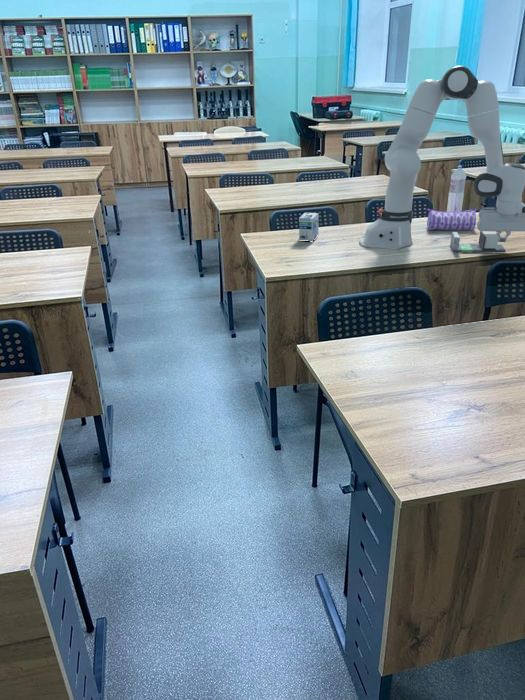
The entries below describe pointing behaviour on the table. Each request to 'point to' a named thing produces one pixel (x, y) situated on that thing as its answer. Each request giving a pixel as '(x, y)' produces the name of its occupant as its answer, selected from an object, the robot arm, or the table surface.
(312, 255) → the table surface
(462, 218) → the pencil case
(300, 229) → the light bulb box
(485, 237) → the white cube on plate
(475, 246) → the rail
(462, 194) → the water bottle
